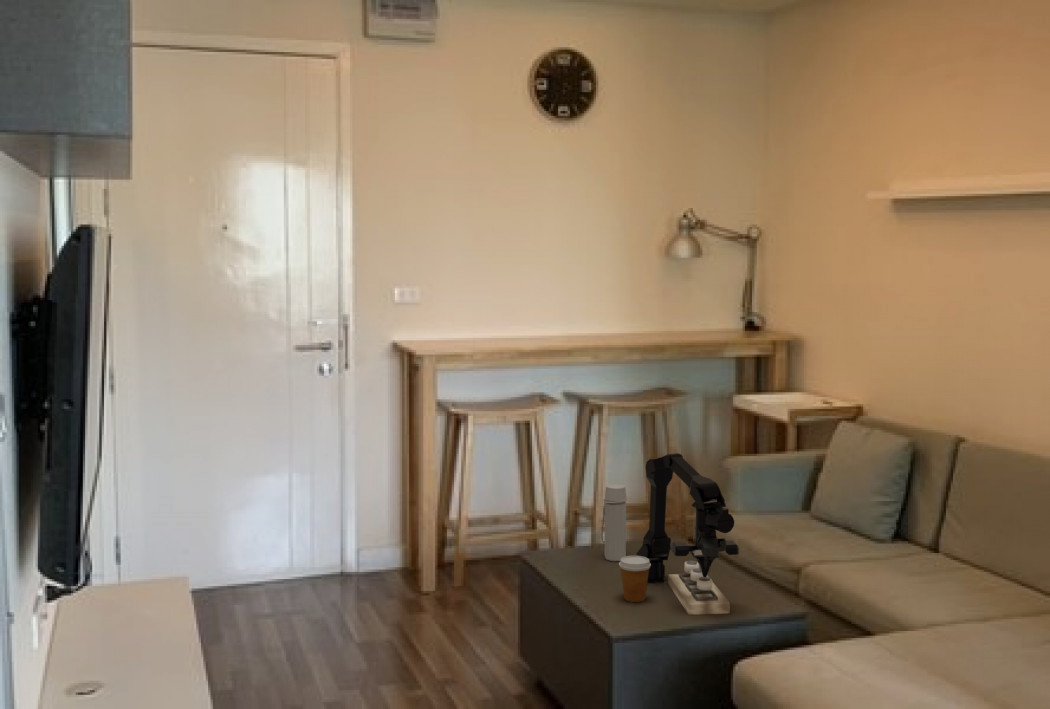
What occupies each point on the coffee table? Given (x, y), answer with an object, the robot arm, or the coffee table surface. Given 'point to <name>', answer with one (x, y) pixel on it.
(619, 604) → the coffee table surface
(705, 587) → the front knob
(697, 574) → the middle knob
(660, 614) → the coffee table surface
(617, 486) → the water bottle
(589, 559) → the coffee table surface
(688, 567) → the back knob
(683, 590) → the knob console
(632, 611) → the coffee table surface
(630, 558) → the disposable coffee cup
